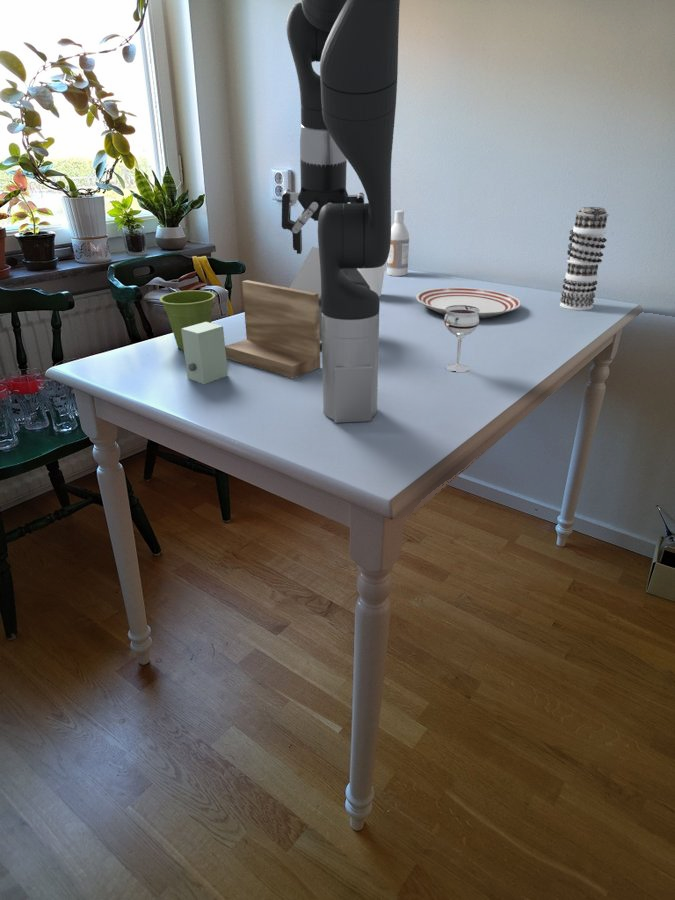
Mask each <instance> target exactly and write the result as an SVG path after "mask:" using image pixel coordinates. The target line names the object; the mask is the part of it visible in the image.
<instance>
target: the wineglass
mask: <svg viewBox="0 0 675 900" xmlns="http://www.w3.org/2000/svg"><path fill="white" fill-rule="evenodd" d="M445 310H446V312H447V313H446V315H444V317H443V323H444V327H445V328H446V329H447V330H448V331H449V333H450V334H452V335H455V338H457V352H456V353H457V354H456V363H451V365H450V364H447V365H448V366H447V365H446V366H447V369H449V370H452V371H456V372H455V373H466V372H465V371H467V370H469V368H470V366H468V365H465V364H461V363H460V359H461V358H460V355H461V349H462V341H463V339H464V338H465V336H468V335H470V334H472V333H473V332H475V330H476V329H477V328H478V327H479V324H480V318H479V316H478V313H479V311H480V309H479V308H477V307H474V306H468V305H453V306H448V307H446V308H445ZM469 371H470V370H469ZM467 372H468V371H467Z"/></svg>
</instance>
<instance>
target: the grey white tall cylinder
mask: <svg viewBox="0 0 675 900" xmlns="http://www.w3.org/2000/svg"><path fill="white" fill-rule="evenodd" d="M609 216H610V214H608V213H607V210H606V209H605V208H604V207H601V206H599V207H598V206H585V207H581V208H580V209H579V211H578V212H576V213H575V220H574V225H573V229H572V230H569V234H570V235H569V237H568V240H569V241H570V243H569V244H568V245H567V247H568V250H567V251H566V252H567V253H566V254H567V255H569V256H568V257H567V259H566V262H567V269H566V272H565V278H563V283H564V284H563V285H562V289H563V290H562V291H561V292H560V294H561V297H560V302H559V306H560V307H561V308H562V309H563V308H564V309H567V310H572V311H573V310H574V311H588V310H592V309H593V304H594V303H595V300H594V298H596V294H595V292H594V291H596V290H597V284H598V281H597V279H598V269H599V265H600V264H601V263H602V262H603V260H602V259H601V257H603V256H604V253H603V252H601V251H602V250H604V249H605V248H606V245H605V244H604V243H606V242H607V239H606V238H605V237H604V235H605V234H606V231H607V221H608V217H609Z"/></svg>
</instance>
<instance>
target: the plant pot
mask: <svg viewBox="0 0 675 900" xmlns="http://www.w3.org/2000/svg"><path fill="white" fill-rule="evenodd" d="M215 298H216V294H215V293H214V292H212V291H207V290H191V289H190V290H179V291H174V292H170V293H167V294H164V295H162V296H160V297H159V302H160V303H162V305H163V309H164V311H165V313H166V315H167V317H168V320H169V321H168V322H169V324H170V327H171V330H172V333H173V336H174V339H175V343H176V347H177V348H178V349H180V350H182V351H184V347H183V339H182V332H181V329H182V328H185V327H189V326H193V325H196V324H200V323H203V322H209V323H212V310H213V305H214V304H213V303H214V299H215Z"/></svg>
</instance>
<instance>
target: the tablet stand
mask: <svg viewBox="0 0 675 900" xmlns="http://www.w3.org/2000/svg"><path fill="white" fill-rule="evenodd" d="M340 271H341V273H342V275H343V276H344V277H346V278H347V279H348V280H350V281H351V282H353V283H355V284H357V285H359V286H362V287H365V288H367V289H370V286H369V285H368V283H367V282H366V281H365V279H364V278H363V276H362V275H361V274H360V272H359V271H358V269H357V268H352V269H344V268H342V269H341V270H340ZM289 288H292V289H297V290H302V291H308V292H313V293H318V294H319V336H320V352H322V319H321V272H320V258H319V247H315V246H312V247H311V249H310V250H309V252H308V254H307V255H306V257H305V259H304V260H303V262H302V265H301V266H300V269H299V270H298V271H297V274H296V275H295V277H294V279H293V281H292V283H291V285H290V286H289Z"/></svg>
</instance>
